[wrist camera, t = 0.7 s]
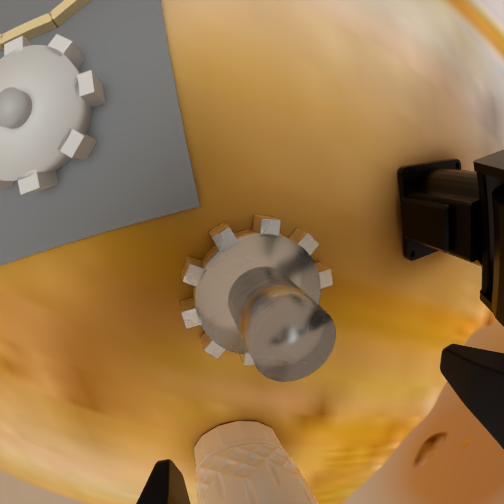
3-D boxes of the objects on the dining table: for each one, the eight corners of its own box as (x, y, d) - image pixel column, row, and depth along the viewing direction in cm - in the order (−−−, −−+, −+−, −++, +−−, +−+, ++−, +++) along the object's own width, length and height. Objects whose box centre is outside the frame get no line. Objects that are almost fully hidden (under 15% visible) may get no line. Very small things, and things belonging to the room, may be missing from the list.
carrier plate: (146, -102, 10) (149, -146, 5) (197, 203, 17) (209, 217, 12) (-33, -34, 7) (-60, -61, 2) (-20, 269, 14) (-63, 299, 9)
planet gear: (311, 201, 18) (378, 219, 12) (326, 327, 21) (381, 381, 15) (161, 238, 16) (159, 278, 10) (201, 366, 19) (219, 441, 13)
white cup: (166, 438, 20) (182, 555, 11) (265, 397, 21) (322, 510, 12) (213, 485, 23) (239, 577, 13) (295, 451, 24) (343, 540, 14)
